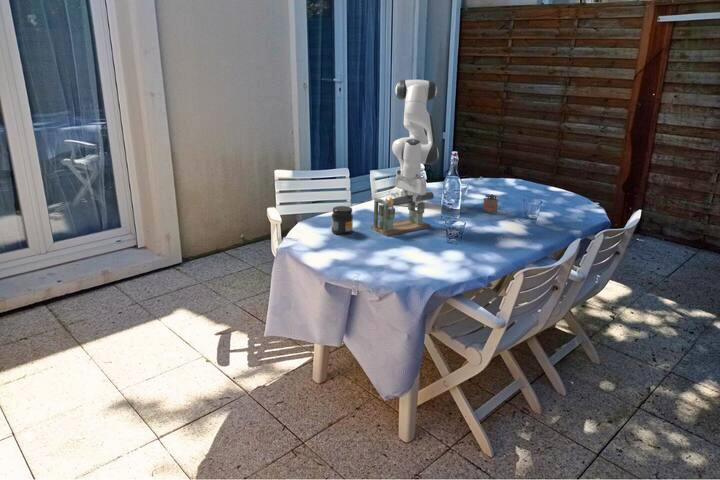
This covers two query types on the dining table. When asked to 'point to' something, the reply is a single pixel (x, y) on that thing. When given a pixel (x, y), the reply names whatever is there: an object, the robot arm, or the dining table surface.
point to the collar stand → (397, 227)
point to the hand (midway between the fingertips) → (410, 199)
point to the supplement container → (342, 220)
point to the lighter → (490, 204)
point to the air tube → (409, 199)
